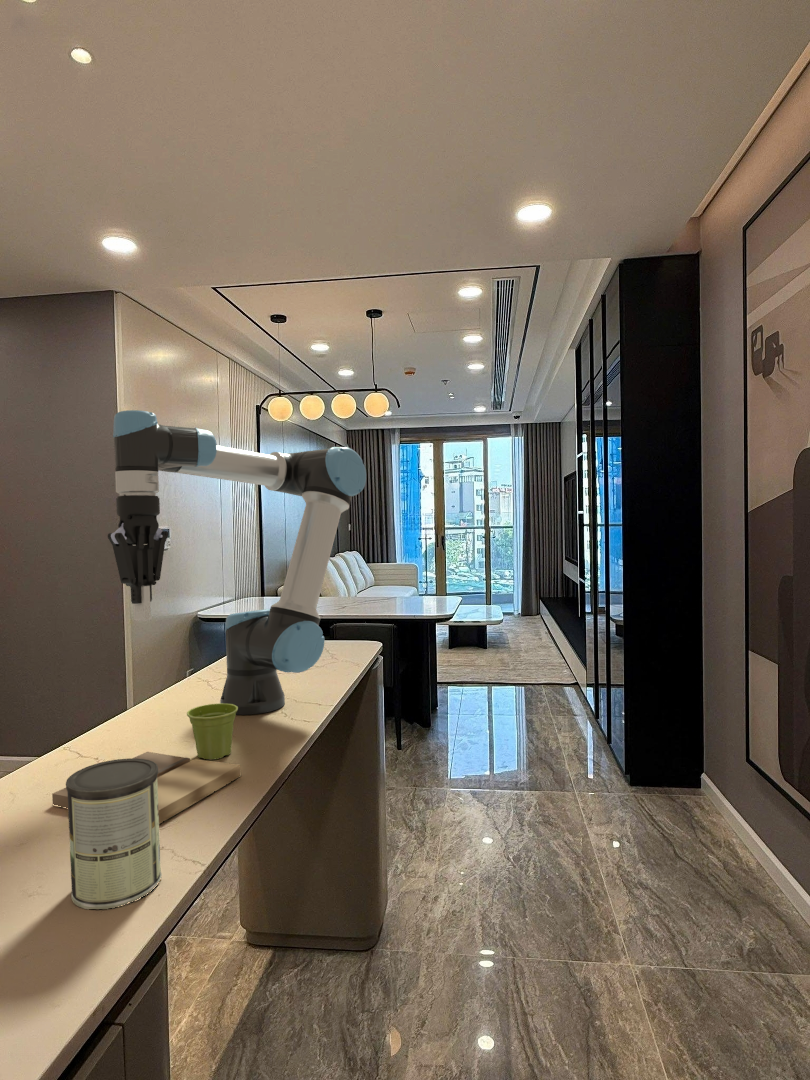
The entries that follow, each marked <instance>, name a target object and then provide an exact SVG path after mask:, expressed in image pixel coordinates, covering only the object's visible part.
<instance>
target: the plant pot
mask: <svg viewBox="0 0 810 1080" xmlns="http://www.w3.org/2000/svg"><path fill="white" fill-rule="evenodd" d="M237 710H238V707H237V706H236V705H233V704H223V703H220V702H219V703H209V704H203V705H199V706H196V707H193V708H191V709H189V710H188V711H187V712H186V716H187V717H188V718H189V722H190V724H191V727H192V731H193V736H194V737H193V738H194V742H195V748H196V754H197V757H198V758H199V759H203V760H205V759H213V760H219V759H218V758H220V759H223V757H224V756H229V755H230V754H231V752H232V745H233V744H232V742H233V733H234V732H233V731H234V723H235V718H236V715H237V714H236V712H237Z"/></svg>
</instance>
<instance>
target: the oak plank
mask: <svg viewBox="0 0 810 1080" xmlns="http://www.w3.org/2000/svg"><path fill="white" fill-rule="evenodd" d="M241 776H242V772H241V764H237V763H230V762H219V761H214V760H213V761H212V760H205V759H197V758H195V759H192V760H190V762H188V763H186V764H184V765H182V766H180V767H178V768H176V769H174V770H172V771H170V772H168V773H166V774H164V775H162V776H160V777H158V778H157V786H158V811H159V825H160V824H162V823H164V822H165V821H167V820H168V819H170V818H172V817H174V816H175V815H177V814H179V813H181V812H182V811H184V810H186V809H188V808H189V807H190V806H192V805H194V804H195V803H198V802H199V801H202V800H203V799H205V798H207V796H209V795H211V794H213V793H215V792H216V791H218V790H220V789H221V788H223V787H225V786H227V785H228V784H230V783H232V782H233V781H235V780H237V779H238V778H240V777H241ZM231 781H232V782H231ZM226 784H227V785H226ZM214 791H215V792H214ZM163 821H164V822H163Z"/></svg>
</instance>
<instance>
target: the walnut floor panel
mask: <svg viewBox="0 0 810 1080" xmlns="http://www.w3.org/2000/svg"><path fill="white" fill-rule="evenodd" d="M132 759H145V760H150V761H153V762H154V763H156V764H157V766H158V775H157V778H158V777H160V776H162V775H164V774H166V773H168V772H170V771H172V770H174V769H176V768H178V767H180V766H182V765H184V764H186V763H188V762H190V761H191V759H190V757H183V756H177V755H171V754H164V753H159V752H158V753H157V752H151V751H146V752H143V753H141V754H139V755H137V756H134V757H132ZM67 793H68V792H67V789H66V787H64V788H62V789H59V790H57V791H55V792H53V793H52V794H51V795H52V800H51V801H52V805H53V804H54V805H58V806H61V807H66V808H68V794H67Z"/></svg>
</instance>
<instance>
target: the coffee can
mask: <svg viewBox="0 0 810 1080" xmlns="http://www.w3.org/2000/svg"><path fill="white" fill-rule="evenodd" d="M132 758H133V757H132ZM132 758H130V757H129V758H118V759H113V760H107V761H103V762H98V763H94V764H91V765H88V766H86V767H83V768H81V769H79V770H77V771H75V772H74V773H73V774H71V775H69V777H68V778H67V779H66V781H65V788H66V789H67V792H68V793H67V794H68V809H67V813H68V831H69V832H68V833H69V835H68V836H69V855H70V856H69V857H70V879H71V880H70V881H71V885H70V886H71V894H70V895H71V901H72V902H73V904H74V905H76V906H77V907H79V908H81V909H84V910H89V909H107V910H109V909H108V908H112V909H116V908H115V907H118V906H121V905H124V904H127V903H128V902H132V901H135V900H137V899H139V898H140V897H142V896H144V895H146V894H147V893H149V892H150V891H151V890H153V888H154V887H155V886H156V885H157V883H158V882H159V881H160V878H161V879H162V877H161V876H162V872H161V870H162V869H161V845H160V841H161V840H160V824H159V811H158V786H157V775H158V766H157V764H156V763H154V762H153V761H150V760H145V759H132ZM160 882H161V881H160ZM153 891H154V890H153ZM149 894H150V893H149ZM146 896H147V895H146ZM139 900H140V899H139ZM137 901H138V900H137ZM135 902H136V901H135ZM118 908H119V907H118Z"/></svg>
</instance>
